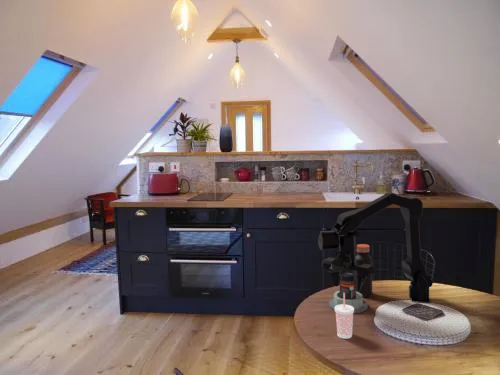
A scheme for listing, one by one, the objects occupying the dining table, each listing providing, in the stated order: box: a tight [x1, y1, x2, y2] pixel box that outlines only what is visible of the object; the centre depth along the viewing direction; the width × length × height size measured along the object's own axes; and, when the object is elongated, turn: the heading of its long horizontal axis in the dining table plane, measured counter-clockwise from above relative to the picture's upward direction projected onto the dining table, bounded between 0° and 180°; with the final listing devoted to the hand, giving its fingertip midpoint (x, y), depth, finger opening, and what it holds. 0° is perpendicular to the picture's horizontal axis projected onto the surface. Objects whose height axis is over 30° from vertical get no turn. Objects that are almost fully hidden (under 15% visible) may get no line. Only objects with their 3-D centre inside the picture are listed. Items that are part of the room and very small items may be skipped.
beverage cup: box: [334, 293, 354, 339], centre depth 125 cm, size 6×6×14 cm
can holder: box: [328, 290, 368, 315], centre depth 148 cm, size 14×14×4 cm
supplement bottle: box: [339, 272, 356, 300], centre depth 147 cm, size 6×6×11 cm
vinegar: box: [354, 243, 373, 298], centre depth 157 cm, size 7×7×20 cm
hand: (347, 288), depth 147 cm, fingers open, 9 cm apart
